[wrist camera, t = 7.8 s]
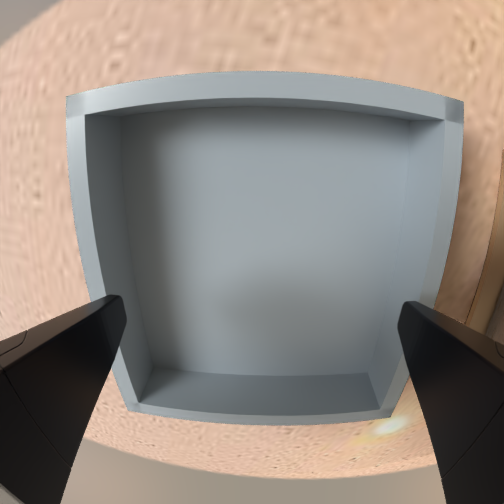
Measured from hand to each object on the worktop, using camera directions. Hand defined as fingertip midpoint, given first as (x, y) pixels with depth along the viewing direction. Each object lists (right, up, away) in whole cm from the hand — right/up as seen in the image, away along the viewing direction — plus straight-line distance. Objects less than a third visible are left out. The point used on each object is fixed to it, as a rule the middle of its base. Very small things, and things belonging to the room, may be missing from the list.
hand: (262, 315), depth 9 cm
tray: (0, +2, +4) cm, 4 cm away
